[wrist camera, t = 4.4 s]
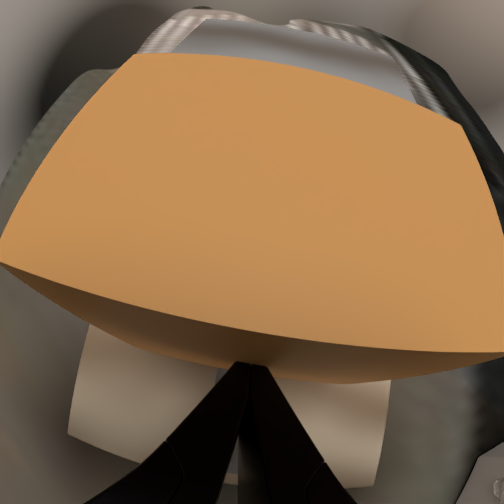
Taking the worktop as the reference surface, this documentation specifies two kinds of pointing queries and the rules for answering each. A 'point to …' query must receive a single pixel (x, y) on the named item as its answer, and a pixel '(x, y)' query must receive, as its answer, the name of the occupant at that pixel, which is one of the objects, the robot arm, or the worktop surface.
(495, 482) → the jar
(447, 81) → the worktop surface
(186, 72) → the orange-brown rectangular block
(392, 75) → the stand
